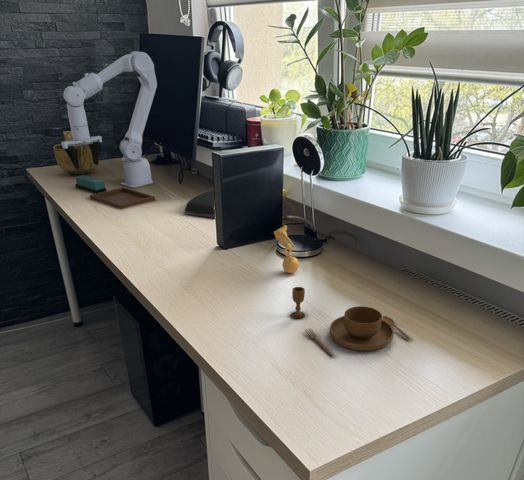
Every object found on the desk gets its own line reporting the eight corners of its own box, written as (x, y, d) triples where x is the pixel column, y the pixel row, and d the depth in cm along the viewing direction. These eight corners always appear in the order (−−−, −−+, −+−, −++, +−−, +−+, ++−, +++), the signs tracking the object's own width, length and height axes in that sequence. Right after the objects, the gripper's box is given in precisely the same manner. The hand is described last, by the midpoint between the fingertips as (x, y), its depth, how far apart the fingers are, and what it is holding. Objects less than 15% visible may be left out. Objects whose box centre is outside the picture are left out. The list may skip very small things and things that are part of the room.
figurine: (307, 276, 122) (309, 227, 116) (285, 282, 119) (286, 232, 113) (288, 264, 128) (288, 217, 122) (267, 270, 126) (266, 221, 119)
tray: (123, 191, 187) (122, 186, 186) (155, 200, 176) (154, 196, 176) (90, 199, 179) (89, 194, 178) (121, 209, 168) (120, 205, 167)
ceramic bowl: (110, 175, 207) (103, 135, 199) (67, 182, 199) (59, 140, 191) (92, 165, 222) (85, 127, 214) (51, 171, 214) (43, 132, 206)
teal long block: (75, 187, 192) (73, 176, 190) (85, 185, 194) (83, 174, 192) (96, 194, 184) (94, 183, 182) (106, 192, 186) (104, 180, 184)
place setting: (335, 363, 91) (337, 334, 88) (286, 314, 106) (286, 288, 103) (417, 342, 96) (422, 314, 93) (359, 298, 112) (361, 273, 109)
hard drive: (181, 214, 163) (180, 201, 161) (213, 198, 178) (212, 186, 176) (217, 219, 158) (216, 206, 156) (246, 203, 173) (246, 190, 171)
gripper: (65, 129, 171) (74, 172, 178) (103, 123, 180) (110, 164, 187) (55, 127, 175) (63, 169, 182) (92, 121, 184) (99, 161, 191)
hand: (86, 166), depth 185 cm, fingers open, 7 cm apart
